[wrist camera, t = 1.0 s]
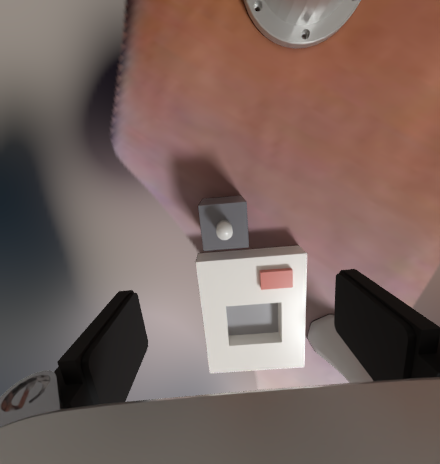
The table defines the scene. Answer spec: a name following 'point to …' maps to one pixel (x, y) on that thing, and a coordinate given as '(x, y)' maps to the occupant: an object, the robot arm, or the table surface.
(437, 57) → the table surface
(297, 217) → the table surface
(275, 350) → the socket plate
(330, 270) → the table surface
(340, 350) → the flask
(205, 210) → the plug
